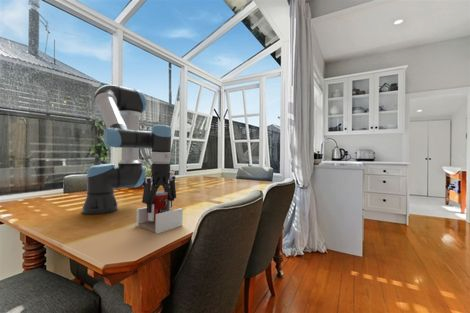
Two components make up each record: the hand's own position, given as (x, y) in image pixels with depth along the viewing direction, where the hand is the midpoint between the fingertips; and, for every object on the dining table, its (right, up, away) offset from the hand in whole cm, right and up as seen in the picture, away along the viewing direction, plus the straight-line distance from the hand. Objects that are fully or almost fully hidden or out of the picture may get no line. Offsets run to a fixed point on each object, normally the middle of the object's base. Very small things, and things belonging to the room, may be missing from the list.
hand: (159, 218), depth 91 cm
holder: (0, -3, 0) cm, 3 cm away
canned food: (-1, -1, +1) cm, 2 cm away
